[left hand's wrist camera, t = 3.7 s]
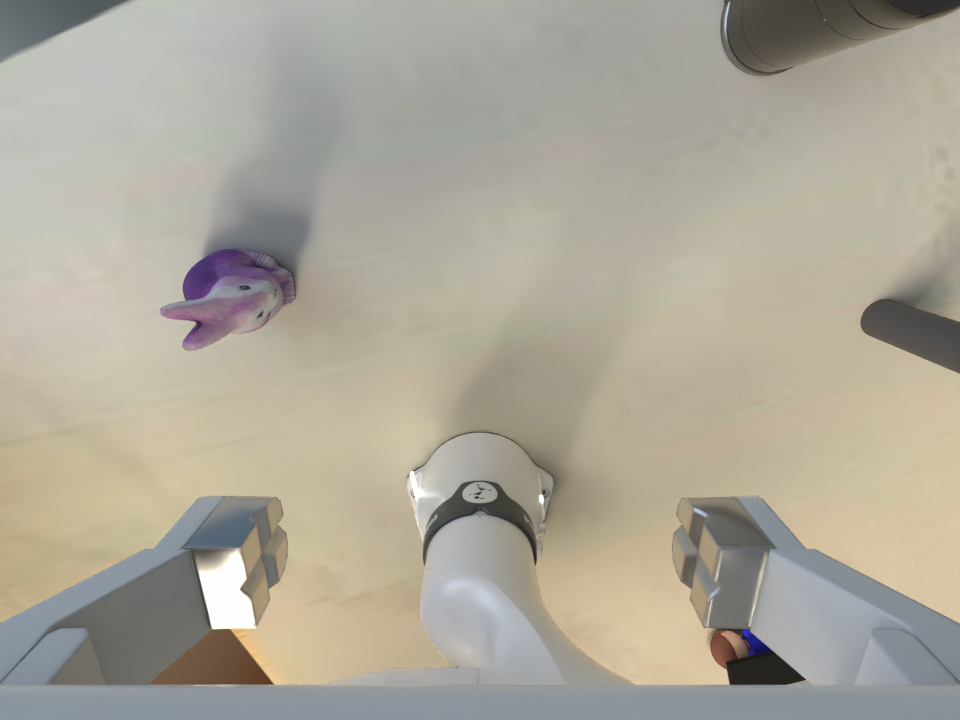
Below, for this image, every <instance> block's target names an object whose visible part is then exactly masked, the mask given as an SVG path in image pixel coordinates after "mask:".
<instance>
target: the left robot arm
mask: <svg viewBox="0 0 960 720" xmlns="http://www.w3.org/2000/svg"><path fill="white" fill-rule="evenodd" d="M406 487H407V490H408V494H409V497H410V501H411V504H412V508H413V511H414V514H415V519H416V521H417V525H418V528H419V532H420V535H421V539H422V542H423V561H424V565H425V570H424V577H423V585H422V592H421V599H420V618H421V622H422V626H423V628H424V631H425V633H426V635H427V636H428V638H429V640H430V641H431V643H432V644H433V646H434V647H435V649H436V650H437V651H438V652H439V654H440V655H441V656H442V657H443V658H444V659H446V660H447V661H448V662H450V663H451V664H453V665H454V666H456V668H389V669H384V670H379V671H374V672H369V673H364V674H360V675H356V676H352V677H348V678H344V679H340V680H336V681H332V682H330V683H328V684H327V685H148V684H149V683H150V682H151V681H153V680H154V679H155V678H156V677H157V676H159V675H160V674H161V673H162V672H163V671H164V670H165V669H167V668H168V667H169V666H170V665H171V664H173V663H174V662H175V661H176V660H177V659H178V658H180V657H181V656H182V655H183V654H184V653H185V652H187V651H188V650H189V649H190V648H191V647H193V646H194V645H195V644H196V643H197V642H198V641H200V640H201V639H202V638H203V637H204V636H205V635H207V634H208V633H209V632H210V629H232V628H256V627H257V625H258V623H259V621H260V619H261V617H262V615H263V613H264V611H265V609H266V607H267V605H268V603H269V601H270V595H269V588H271V587H272V586H274V585H275V584H276V583H278V582H279V581H280V578H281V576H282V574H283V572H284V569H285V565H286V560H287V556H288V541H287V534H286V532H285V531H284V530H283V529H282V528H281V527H280V526H279V525H278V524H279V522H280V520H281V518H282V517H283V510H282V505H281V501H280V500H279V499H278V498H277V497H248V496H228V497H227V496H203V497H200V498H198V499H197V500H196V501H195V502H194V503H193V504H192V505H191V507H190V508H189V509H188V510H187V511H186V512H185V514H184V515H183V516H182V517H181V518H180V519H179V520H178V522H177V523H176V524H175V525H174V526H173V527H172V528H171V530H170V531H169V532H168V533H167V534H166V535H165V536H164V538H163V539H162V540H161V541H160V542H159V543H158V544H157V546H156V547H155V548H154V549H145V550H143V551H141V552H139V553H137V554H135V555H133V556H131V557H129V558H127V559H125V560H123V561H121V562H119V563H117V564H115V565H113V566H111V567H109V568H107V569H106V570H104V571H102V572H100V573H98V574H96V575H94V576H92V577H90V578H88V579H86V580H84V581H82V582H80V583H78V584H76V585H74V586H72V587H70V588H68V589H67V590H65V591H63V592H61V593H59V594H57V595H55V596H53V597H51V598H49V599H47V600H45V601H43V602H41V603H39V604H37V605H35V606H33V607H31V608H29V609H27V610H26V611H24V612H22V613H20V614H18V615H16V616H14V617H12V618H10V619H8V620H6V621H4V622H2V623H0V720H960V624H959V623H957V622H956V621H954V620H952V619H950V618H948V617H946V616H944V615H942V614H940V613H938V612H936V611H934V610H932V609H930V608H928V607H926V606H924V605H922V604H920V603H919V602H917V601H915V600H913V599H911V598H909V597H907V596H905V595H903V594H901V593H899V592H897V591H895V590H893V589H891V588H889V587H887V586H885V585H884V584H882V583H880V582H878V581H876V580H874V579H872V578H870V577H868V576H866V575H864V574H862V573H860V572H858V571H856V570H854V569H852V568H850V567H849V566H847V565H845V564H843V563H841V562H839V561H837V560H835V559H833V558H831V557H829V556H827V555H825V554H823V553H821V552H819V551H817V550H815V549H806V548H805V547H804V546H803V544H802V543H801V542H800V541H799V540H798V539H797V538H796V536H795V535H794V534H793V533H792V532H791V531H790V530H789V528H788V527H787V526H786V525H785V524H784V523H783V522H782V520H781V519H780V518H779V517H778V516H777V515H776V514H775V512H774V511H773V510H772V509H771V508H770V507H769V506H768V504H767V503H766V502H765V501H764V500H763V499H762V498H760V497H758V496H732V497H698V498H681V500H680V502H679V504H678V509H677V517H678V518H679V520H680V522H681V524H682V525H681V526H680V527H679V528H678V529H677V530H676V531H675V532H674V534H673V543H672V553H673V562H674V565H675V569H676V572H677V574H678V576H679V578H680V581H681V582H682V583H684V584H685V585H686V586H688V587H689V588H691V595H690V601H691V603H692V605H693V607H694V609H695V611H696V613H697V615H698V617H699V619H700V621H701V623H702V625H703V627H704V628H727V629H750V632H751V633H752V634H754V635H755V636H756V637H757V638H758V639H760V640H761V641H762V642H763V643H764V644H765V645H767V646H768V647H769V648H770V649H771V650H772V651H774V652H775V653H776V654H777V655H778V656H779V657H781V658H782V659H783V660H784V661H785V662H786V663H788V664H789V665H790V666H791V667H792V668H793V669H795V670H796V671H797V672H798V673H799V674H800V675H802V676H803V677H804V678H805V679H806V680H808V681H809V682H810V683H811V684H812V685H634V684H633V683H632V682H631V681H630V680H628V679H626V678H624V677H622V676H620V675H618V674H616V673H614V672H612V671H610V670H609V669H607V668H605V667H604V666H602V665H600V664H599V663H597V662H596V661H595V660H593V659H592V658H591V657H589V656H588V655H587V654H585V653H584V652H583V651H582V650H581V649H580V648H578V647H577V646H576V645H575V644H574V643H573V642H572V641H571V640H570V639H569V638H568V637H567V636H566V635H565V634H564V633H563V631H562V630H561V629H560V628H559V627H558V626H557V624H556V623H555V622H554V620H553V619H552V617H551V616H550V614H549V613H548V611H547V609H546V607H545V605H544V602H543V599H542V595H541V592H540V588H539V584H538V579H537V574H536V569H535V565H536V561H537V559H539V558H541V556H542V550H543V543H542V540H540V539H539V536H543V535H544V532H545V525H544V524H543V521H544V519H545V515H546V511H547V508H548V504H549V501H550V497H551V494H552V490H553V487H554V481H553V477H552V476H551V475H550V474H549V473H547V472H546V471H544V470H542V469H541V468H539V467H537V466H536V465H535V464H534V463H533V462H532V460H531V459H530V458H529V456H528V455H527V454H526V452H525V451H524V450H523V449H522V448H521V447H520V446H518V445H517V444H516V443H514V442H513V441H511V440H509V439H507V438H505V437H502V436H499V435H495V434H490V433H470V434H465V435H461V436H458V437H455V438H453V439H451V440H449V441H447V442H446V443H444V444H443V445H442V446H440V447H439V448H438V449H437V450H436V451H435V452H434V454H433V455H432V456H431V458H430V459H429V460H428V462H427V463H426V464H425V465H424V466H423V467H421V468H419V469H418V470H416V471H414V472H413V471H412V472H411V473H410V475H409V476H408V477H407V482H406ZM542 489H543V490H545V491H543V492H542ZM479 681H480V682H481V685H479Z"/></svg>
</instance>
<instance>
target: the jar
mask: <svg viewBox="0 0 960 720" xmlns="http://www.w3.org/2000/svg"><path fill="white" fill-rule="evenodd" d="M861 327H862V329H863V331H864V332H865V333H866V334H867V335H869V336H872V337H874V338H876V339H879V340H881V341H884V342H886V343H888V344H891V345H893V346H895V347H898V348H900V349H903V350H905V351H907V352H910V353H912V354H914V355H917V356H919V357H922V358H924V359H926V360H929V361H931V362H933V363H936V364H938V365H941V366H943V367H945V368H948V369H950V370H952V371H955V372H957V373H960V322H958V321H955V320H952V319H948V318H945V317H942V316H939V315H936V314H932V313H929V312H926V311H923V310H920V309H917V308H913V307H910V306H907V305H904V304H901V303H897V302H894V301H891V300H880V301H877V302H875V303H873V304H872V305H870V306H869V307H868V308H867V309H866V310H865V312H864V313H863V315H862V318H861Z"/></svg>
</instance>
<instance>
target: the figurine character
mask: <svg viewBox="0 0 960 720" xmlns="http://www.w3.org/2000/svg"><path fill="white" fill-rule="evenodd" d="M710 647H711V653H712V655H713V657H714V659H715V660H716V662H717V663H718V664H719V665H720V666H722V667H723V668H725V669H727V672H728V677H729V683H730V685H787V684H791V683H795V682H799V681H803V680H806V679H805V678H804V677H803V676H802V675H800V674H799V673H798V672H797V671H796V670H795V669H793V668H792V667H791V666H790V665H789V664H788V663H786V662H785V661H784V660H783V659H782V658H781V657H779V656H778V655H777V654H776V653H775V652H774V651H772V650H771V649H770V648H769V647H768V646H767V645H765V644H764V643H763V642H762V641H761V640H760V639H758V638H757V637H756V636H755V635H754V634H752V633H751V632H750V629H748V630H747V629H743V630H742V638H741V637H740V636H739V635H738V634H736V633H734V632H732V631H728V630H723V631H719V632H717V633H716V634H715V635H714V636H713V638H712V640H711V645H710Z"/></svg>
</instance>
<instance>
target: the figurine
mask: <svg viewBox="0 0 960 720" xmlns="http://www.w3.org/2000/svg"><path fill="white" fill-rule="evenodd" d="M293 281H294V280H293V277H292V275H291V273H290V272H289V271H288V270H286V269H284V268H281V267H279V266H278V265H277V263H276V261H275V260H274V259H272V258H271V257H270V256H267V255H265V254H261V253H259V252H254V251H250V250H244V249H225V250H220V251H217V252H214V253H212V254H210V255H209V256H207V257H205V258H204V259H202V260H200V261H199V262H198V263H196V264H195V265H194V266H193V267H192V268H191V269H190V270H189V272H188V273H187V275H186V277H185V279H184V283H183V294H184V297H185V299H186V301H181V302H176V303H171V304H168V305H166V306H164V307H162V308H161V309H160V314H161V315H162V316H164V317H166V318H170V319H177V320H190V321H195V322H196V325H195V327H194V328H193V329H192V330H191V331H190V333H189V334H188V335H187V336H186V338H185V339H184V340H183V344H182V347H183V349H185V350H189V351H190V350H198V349H202V348H204V347H207V346H208V345H210V344H213V343H214V342H216V341H219V340H220V339H221V338H222V337H225V336H226V335H228V334H229V333H248V332H251V331H254V330H257V329H259V328H261V327H263V326H264V325H265V324H266V323H267V322H268V320H270V319H271V318H273V317H274V316H275V315H276V314H277V313H278V312H279V310H280V309H281V307H283V306H287V305H289V304H291V303H292V302H293V301H294V299H295V291H294V290H295V289H294V288H295V287H294V282H293Z"/></svg>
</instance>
